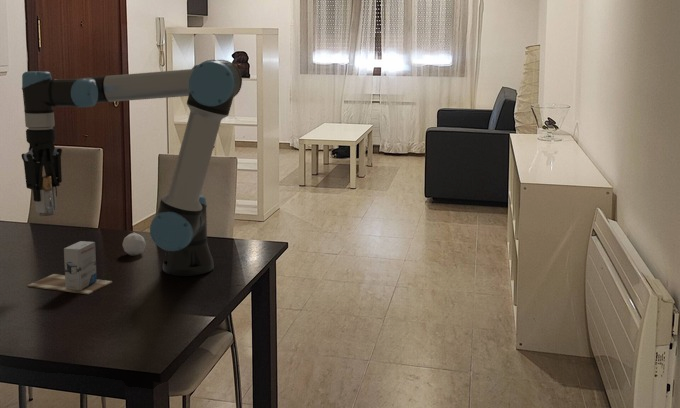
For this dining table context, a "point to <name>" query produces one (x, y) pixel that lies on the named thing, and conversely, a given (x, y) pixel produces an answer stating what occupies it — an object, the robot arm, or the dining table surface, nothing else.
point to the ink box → (80, 265)
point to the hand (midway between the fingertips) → (46, 210)
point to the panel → (59, 284)
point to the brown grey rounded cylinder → (47, 195)
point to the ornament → (134, 244)
